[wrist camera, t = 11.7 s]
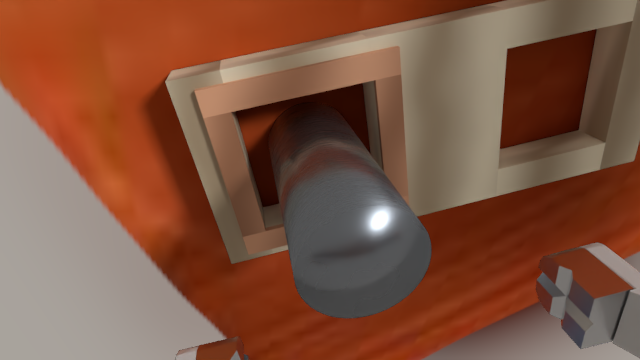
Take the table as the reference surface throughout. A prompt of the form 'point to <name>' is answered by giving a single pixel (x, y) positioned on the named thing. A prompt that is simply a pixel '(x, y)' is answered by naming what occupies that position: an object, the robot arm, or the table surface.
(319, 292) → the steel peg
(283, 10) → the table surface
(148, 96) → the table surface
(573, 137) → the beige flat frame
